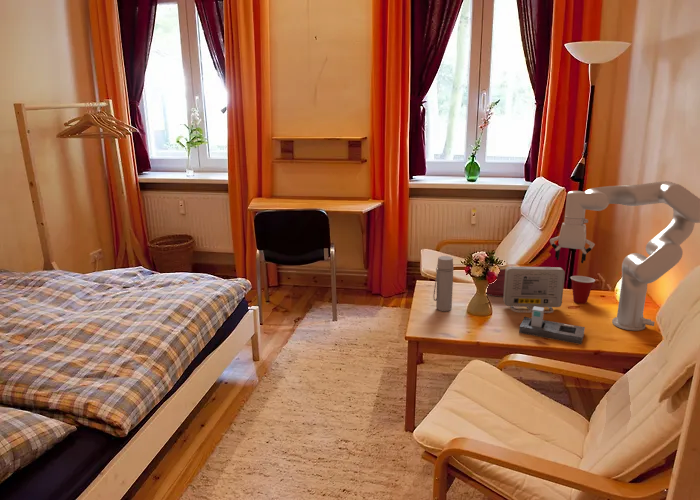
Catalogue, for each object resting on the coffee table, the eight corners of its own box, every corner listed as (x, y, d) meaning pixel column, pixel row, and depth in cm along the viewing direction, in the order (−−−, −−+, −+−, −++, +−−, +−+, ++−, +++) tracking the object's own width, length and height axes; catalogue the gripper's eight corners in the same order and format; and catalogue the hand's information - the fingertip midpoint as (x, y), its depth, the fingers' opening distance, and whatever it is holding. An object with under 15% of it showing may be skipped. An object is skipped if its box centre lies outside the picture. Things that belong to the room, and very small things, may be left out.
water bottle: (446, 305, 245) (448, 255, 238) (454, 311, 238) (457, 259, 231) (429, 307, 242) (430, 257, 235) (437, 313, 235) (439, 261, 228)
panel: (583, 333, 212) (584, 326, 211) (581, 344, 203) (582, 337, 202) (524, 323, 223) (524, 316, 223) (519, 332, 214) (519, 325, 213)
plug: (542, 329, 217) (544, 307, 214) (540, 334, 213) (542, 311, 210) (532, 327, 219) (534, 306, 216) (530, 332, 215) (532, 310, 212)
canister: (487, 286, 269) (489, 254, 264) (512, 290, 263) (514, 257, 258) (479, 293, 258) (481, 260, 254) (505, 298, 252) (508, 264, 247)
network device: (557, 306, 242) (561, 265, 236) (562, 313, 233) (567, 271, 228) (501, 304, 244) (504, 264, 239) (505, 312, 236) (508, 270, 230)
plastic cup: (593, 299, 248) (596, 276, 245) (590, 307, 239) (593, 283, 236) (569, 296, 254) (572, 273, 250) (566, 303, 245) (568, 279, 242)
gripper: (597, 221, 210) (593, 261, 215) (553, 217, 218) (549, 256, 223) (596, 225, 204) (591, 266, 208) (550, 221, 212) (546, 260, 216)
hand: (569, 260), depth 215 cm, fingers open, 9 cm apart
